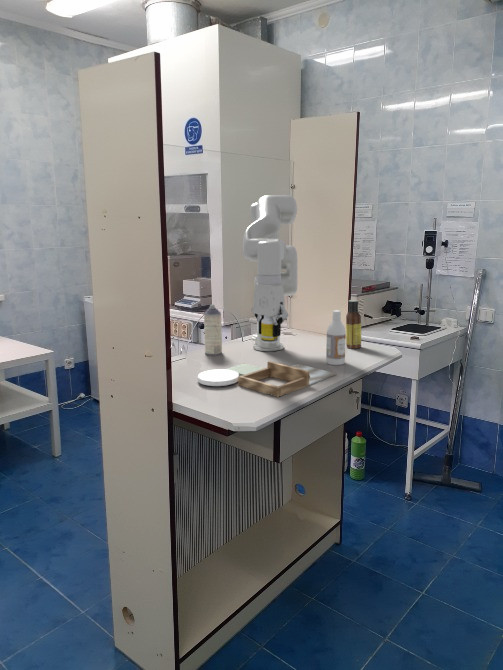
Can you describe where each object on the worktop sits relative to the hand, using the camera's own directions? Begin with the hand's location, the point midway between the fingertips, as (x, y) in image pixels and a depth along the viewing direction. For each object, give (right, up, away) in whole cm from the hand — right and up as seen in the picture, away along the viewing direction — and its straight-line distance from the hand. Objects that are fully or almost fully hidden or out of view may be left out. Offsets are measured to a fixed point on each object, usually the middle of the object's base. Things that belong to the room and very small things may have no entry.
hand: (269, 334), depth 176 cm
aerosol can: (-21, -8, +42) cm, 48 cm away
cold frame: (+7, -16, +7) cm, 18 cm away
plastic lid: (-17, -17, +7) cm, 25 cm away
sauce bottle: (+37, -6, +49) cm, 61 cm away
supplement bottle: (0, -3, +1) cm, 3 cm away
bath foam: (+26, -11, +26) cm, 38 cm away
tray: (-8, -14, +15) cm, 22 cm away
